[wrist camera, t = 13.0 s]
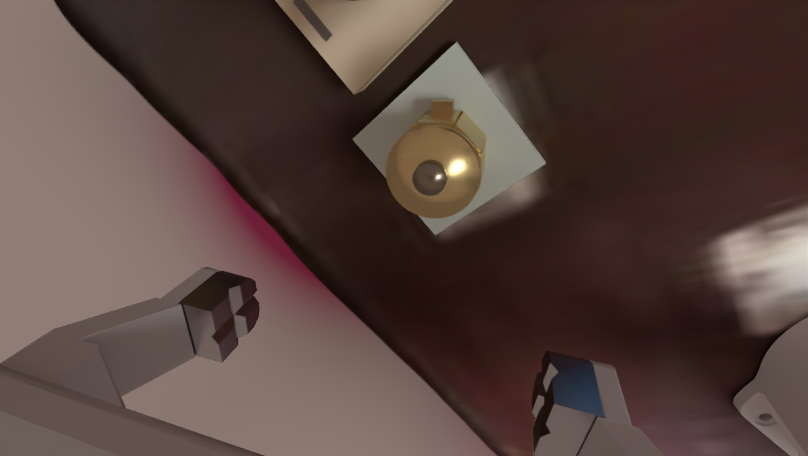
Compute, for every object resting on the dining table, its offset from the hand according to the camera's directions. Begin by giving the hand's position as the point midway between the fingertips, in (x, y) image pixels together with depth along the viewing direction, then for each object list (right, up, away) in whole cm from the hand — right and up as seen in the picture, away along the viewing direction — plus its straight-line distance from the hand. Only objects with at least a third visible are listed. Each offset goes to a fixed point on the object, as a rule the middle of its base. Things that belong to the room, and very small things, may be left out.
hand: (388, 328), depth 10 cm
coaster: (+3, +9, +18) cm, 20 cm away
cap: (+3, +8, +17) cm, 19 cm away
